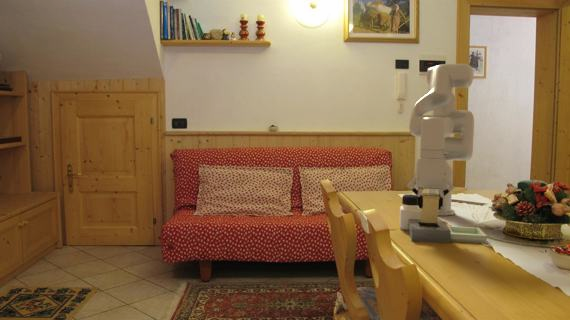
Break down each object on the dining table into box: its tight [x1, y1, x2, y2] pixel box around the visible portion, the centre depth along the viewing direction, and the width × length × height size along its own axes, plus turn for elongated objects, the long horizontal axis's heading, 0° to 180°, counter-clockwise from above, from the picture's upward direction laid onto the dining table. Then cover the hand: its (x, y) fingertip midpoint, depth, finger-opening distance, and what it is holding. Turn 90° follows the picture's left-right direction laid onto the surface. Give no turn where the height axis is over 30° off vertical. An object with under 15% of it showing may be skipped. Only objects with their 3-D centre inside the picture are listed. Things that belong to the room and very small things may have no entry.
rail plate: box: [407, 219, 451, 244], centre depth 159 cm, size 14×12×4 cm
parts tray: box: [447, 225, 488, 244], centre depth 158 cm, size 11×11×2 cm
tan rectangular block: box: [420, 192, 440, 223], centre depth 159 cm, size 5×5×9 cm
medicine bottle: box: [398, 193, 421, 231], centre depth 170 cm, size 7×7×12 cm
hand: (429, 207), depth 159 cm, fingers closed on tan rectangular block, 5 cm apart
